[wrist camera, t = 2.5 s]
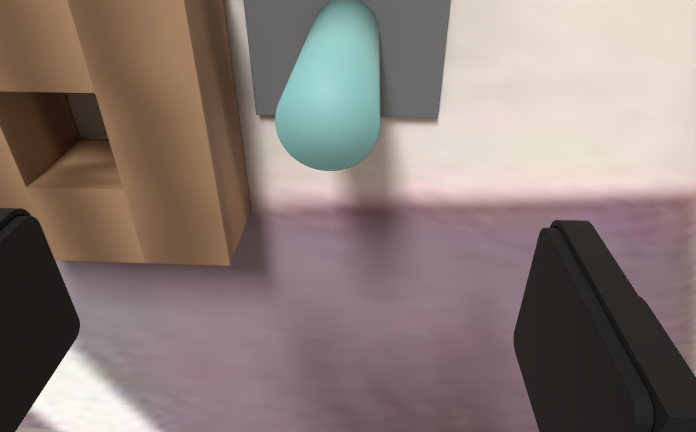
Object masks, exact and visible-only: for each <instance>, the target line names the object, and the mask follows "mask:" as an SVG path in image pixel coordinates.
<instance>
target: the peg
mask: <svg viewBox="0 0 696 432" xmlns="http://www.w3.org/2000/svg"><path fill="white" fill-rule="evenodd" d="M275 124H276V130H277V134H278V137H279V139H280V141H281V143H282V145H283V146H284V148H285V149H286V150H287V152H288V153H289V154H290V155H291V156H292V157H293V158H295V159H296V160H297V161H299V162H300V163H302V164H304V165H306V166H308V167H311V168H314V169H318V170H324V171H336V170H342V169H346V168H349V167H351V166H354V165H355V164H357V163H359V162H360V161H362V160H363V159H364V158H365V157H366V156H367V155H368V154H369V153H370V152H371V150H372V149H373V147H374V146H375V144H376V141H377V139H378V135H379V130H380V54H379V24H378V21H377V18H376V16H375V14H374V13H373V11H372V10H371V9H370V8H369V7H368V6H367V5H366V4H365V3H363V2H361V1H360V0H332V1H330V2H328V3H327V4H325V5H324V6H323V7H322V8H321V10H320V11H319V12H318V14H317V16H316V18H315V20H314V23H313V25H312V27H311V30H310V32H309V34H308V36H307V39H306V41H305V43H304V46H303V48H302V50H301V53H300V55H299V57H298V60H297V62H296V64H295V66H294V69H293V71H292V73H291V76H290V78H289V80H288V83H287V85H286V87H285V89H284V92H283V94H282V96H281V99H280V101H279V103H278V106H277V110H276V116H275Z"/></svg>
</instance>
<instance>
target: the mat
mask: <svg viewBox="0 0 696 432" xmlns="http://www.w3.org/2000/svg"><path fill="white" fill-rule="evenodd" d="M330 1H332V0H244V8H245V17H246V26H247V35H248V44H249V53H250V62H251V71H252V80H253V89H254V98H255V107H256V115H276V110H277V106H278V103H279V101H280V99H281V96H282V94H283V92H284V89H285V87H286V85H287V83H288V80H289V78H290V76H291V73H292V71H293V69H294V66H295V64H296V62H297V60H298V57H299V55H300V53H301V50H302V48H303V46H304V43H305V41H306V39H307V36H308V34H309V32H310V30H311V27H312V25H313V23H314V20H315V18H316V16H317V14H318V12H319V11H320V10H321V8H322V7H323V6H324V5H325V4H327V3H328V2H330ZM360 1H361V2H363V3H365V4H366V5H367V6H368V7H369V8H370V9H371V10H372V11H373V13H374V14H375V16H376V18H377V21H378V24H379V54H380V117H413V118H438V110H439V101H440V91H441V82H442V73H443V63H444V54H445V44H446V35H447V26H448V16H449V7H450V0H360Z"/></svg>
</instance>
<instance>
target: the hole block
mask: <svg viewBox="0 0 696 432" xmlns="http://www.w3.org/2000/svg"><path fill="white" fill-rule="evenodd" d="M65 93H95V95H96V98H97V102H98V105H99V109H100V112H101V115H102V119H103V122H104V125H105V129H106V132H107V135H108V139H109V140H106V139H80V136H79V133H78V130H77V127H76V124H75V121H74V118H73V115H72V112H71V109H70V106H69V103H68V100H67V97H66V94H65ZM0 208H22V209H25V210H26V211H28V212H29V213H30V215H31V216H32V217H35V218H36V219H37V220H38V221H39V223H40V225H41V227H42V230H43V232H44V235H45V237H46V239H47V242H48V244H49V247H50V249H51V252H52V254H53V257H54V259H55V260H64V261H95V262H127V263H158V264H190V265H221V266H230V265H231V262H232V260H233V257H234V254H235V252H236V249H237V247H238V244H239V241H240V239H241V236H242V233H243V231H244V228H245V225H246V223H247V220H248V217H249V215H250V212H251V202H250V195H249V187H248V180H247V172H246V165H245V157H244V150H243V142H242V134H241V127H240V119H239V112H238V104H237V97H236V89H235V82H234V74H233V66H232V59H231V51H230V44H229V36H228V29H227V21H226V14H225V6H224V0H0Z"/></svg>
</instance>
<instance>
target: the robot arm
mask: <svg viewBox="0 0 696 432" xmlns="http://www.w3.org/2000/svg"><path fill="white" fill-rule="evenodd" d="M79 328H80V321H79V318H78V315H77V313H76V310H75V308H74V306H73V303H72V301H71V298H70V296H69V293H68V291H67V288H66V286H65V284H64V281H63V279H62V276H61V274H60V271H59V269H58V266H57V264H56V261H55V259H54V257H53V254H52V252H51V249H50V247H49V244H48V242H47V239H46V237H45V235H44V232H43V230H42V227H41V225H40V223H39V221H38V220H37V219H36V218H35V217H32V216H31V215H30V213H29V212H28V211H26V210H25V209H22V208H0V432H15V431H16V430H17V428H18V426H19V425H20V423H21V422H22V420H23V419H24V417H25V416H26V414H27V413H28V411H29V410H30V408H31V407H32V405H33V404H34V402H35V401H36V399H37V398H38V396H39V394H40V393H41V391H42V390H43V388H44V387H45V385H46V384H47V382H48V381H49V379H50V378H51V376H52V375H53V373H54V372H55V370H56V369H57V367H58V365H59V364H60V362H61V361H62V359H63V358H64V356H65V355H66V353H67V352H68V350H69V349H70V347H71V346H72V344H73V343H74V341H75V340H76V338H77V336H78V333H79ZM514 349H515V353H516V356H517V360H518V363H519V366H520V370H521V373H522V376H523V379H524V383H525V386H526V389H527V392H528V396H529V399H530V402H531V405H532V409H533V412H534V415H535V418H536V422H537V425H538V428H539V431H540V432H696V377H695V376H694V374H693V373H692V371H691V369H690V368H689V366H688V365H687V363H686V362H685V360H684V359H683V357H682V356H681V354H680V353H679V351H678V350H677V348H676V347H675V345H674V344H673V342H672V341H671V339H670V338H669V336H668V335H667V333H666V332H665V330H664V329H663V327H662V325H661V324H660V322H659V321H658V319H657V318H656V316H655V315H654V313H653V312H652V310H651V309H650V307H649V306H648V304H647V303H646V302H645V301H644V300H643V299H642V297H640V296H638V294H637V293H636V291H635V290H634V288H633V287H632V285H631V284H630V282H629V281H628V279H627V278H626V276H625V274H624V273H623V271H622V270H621V268H620V267H619V265H618V264H617V262H616V261H615V259H614V258H613V256H612V254H611V253H610V251H609V250H608V248H607V247H606V245H605V244H604V242H603V241H602V239H601V238H600V236H599V235H598V233H597V231H596V230H595V228H594V227H593V225H592V224H591V223H590V222H589V221H574V220H555V221H553V223H552V224H551V226H550V228H543V229H542V230H541V231H540V234H539V238H538V241H537V245H536V249H535V253H534V257H533V261H532V265H531V269H530V273H529V277H528V280H527V284H526V288H525V292H524V296H523V300H522V304H521V308H520V312H519V315H518V319H517V323H516V327H515V331H514Z"/></svg>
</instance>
